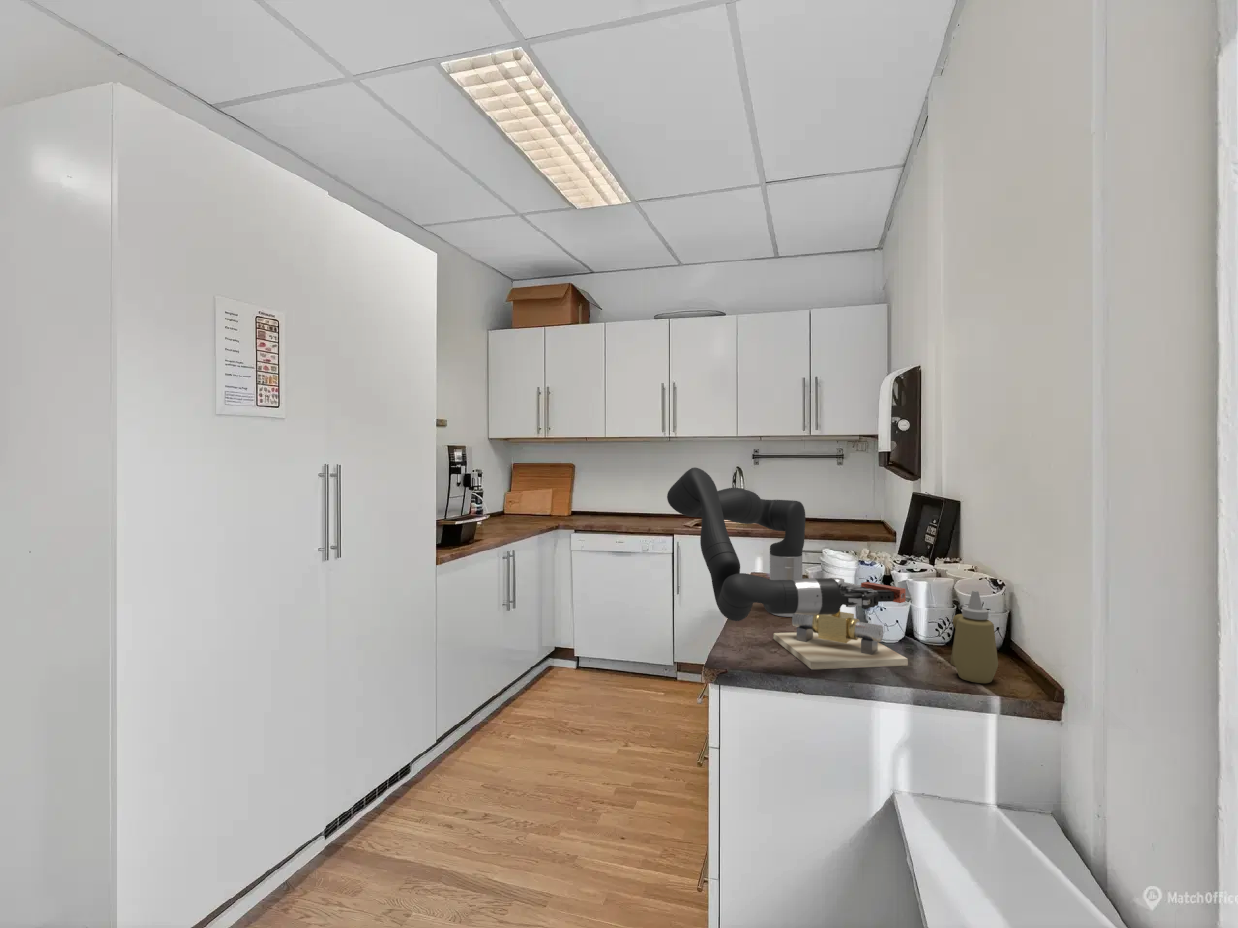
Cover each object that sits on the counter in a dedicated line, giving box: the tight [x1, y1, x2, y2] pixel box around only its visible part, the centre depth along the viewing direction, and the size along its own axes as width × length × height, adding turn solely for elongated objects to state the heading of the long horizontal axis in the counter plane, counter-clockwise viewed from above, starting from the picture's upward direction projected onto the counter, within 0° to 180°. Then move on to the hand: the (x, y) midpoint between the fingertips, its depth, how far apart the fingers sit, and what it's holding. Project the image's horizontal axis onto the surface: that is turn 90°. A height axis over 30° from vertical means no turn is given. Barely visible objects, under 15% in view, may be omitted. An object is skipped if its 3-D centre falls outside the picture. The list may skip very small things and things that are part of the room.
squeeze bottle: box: [953, 590, 999, 684], centre depth 122 cm, size 8×8×18 cm
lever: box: [831, 577, 906, 604], centre depth 134 cm, size 18×4×3 cm, turn 36°
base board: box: [773, 631, 909, 670], centre depth 140 cm, size 22×22×2 cm
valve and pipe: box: [791, 609, 884, 655], centre depth 140 cm, size 20×6×13 cm, turn 52°
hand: (891, 595), depth 127 cm, fingers closed
